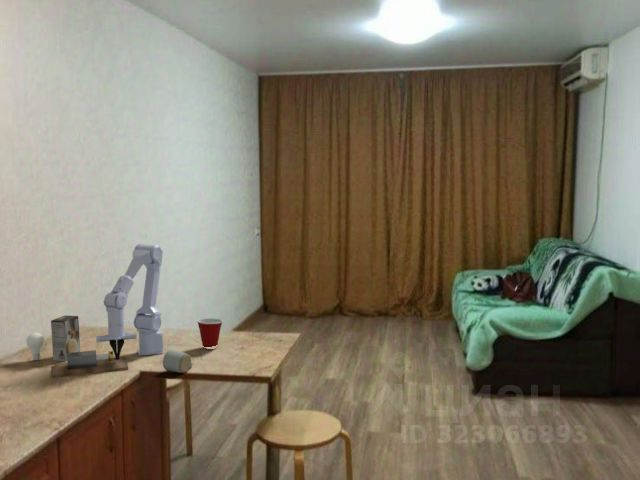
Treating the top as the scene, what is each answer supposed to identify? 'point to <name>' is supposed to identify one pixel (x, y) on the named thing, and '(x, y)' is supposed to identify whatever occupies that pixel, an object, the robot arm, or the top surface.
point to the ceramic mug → (176, 361)
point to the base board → (102, 366)
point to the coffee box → (65, 337)
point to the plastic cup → (209, 331)
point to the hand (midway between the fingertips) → (117, 358)
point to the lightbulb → (35, 344)
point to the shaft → (105, 356)
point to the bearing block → (81, 360)
